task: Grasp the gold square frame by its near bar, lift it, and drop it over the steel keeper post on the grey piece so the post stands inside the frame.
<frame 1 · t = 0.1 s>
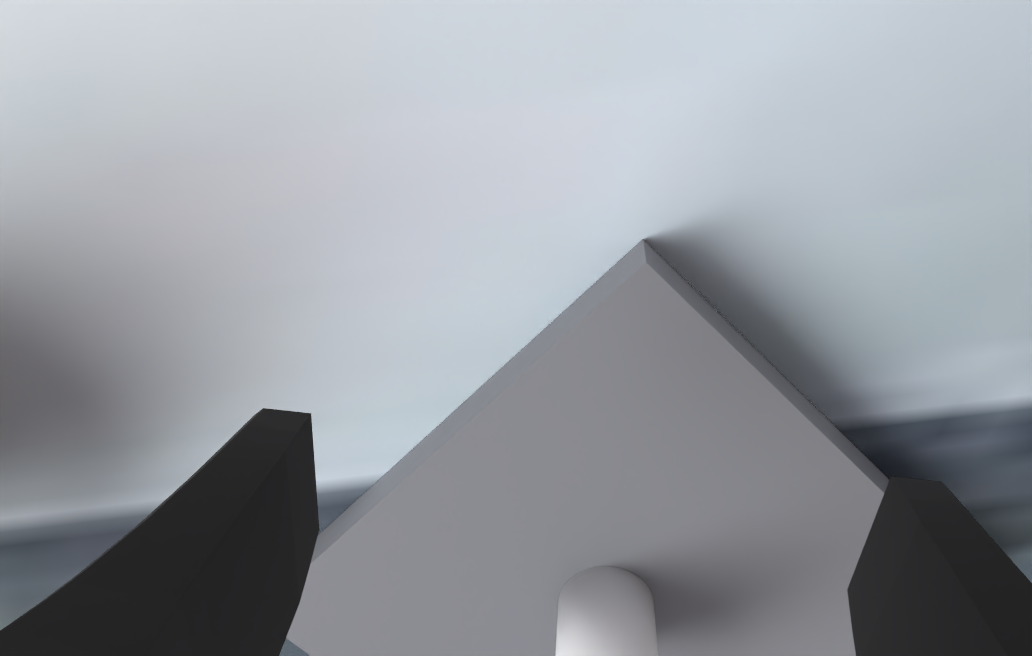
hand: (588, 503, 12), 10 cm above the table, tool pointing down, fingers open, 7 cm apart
grey piece: (605, 566, 25), on the table
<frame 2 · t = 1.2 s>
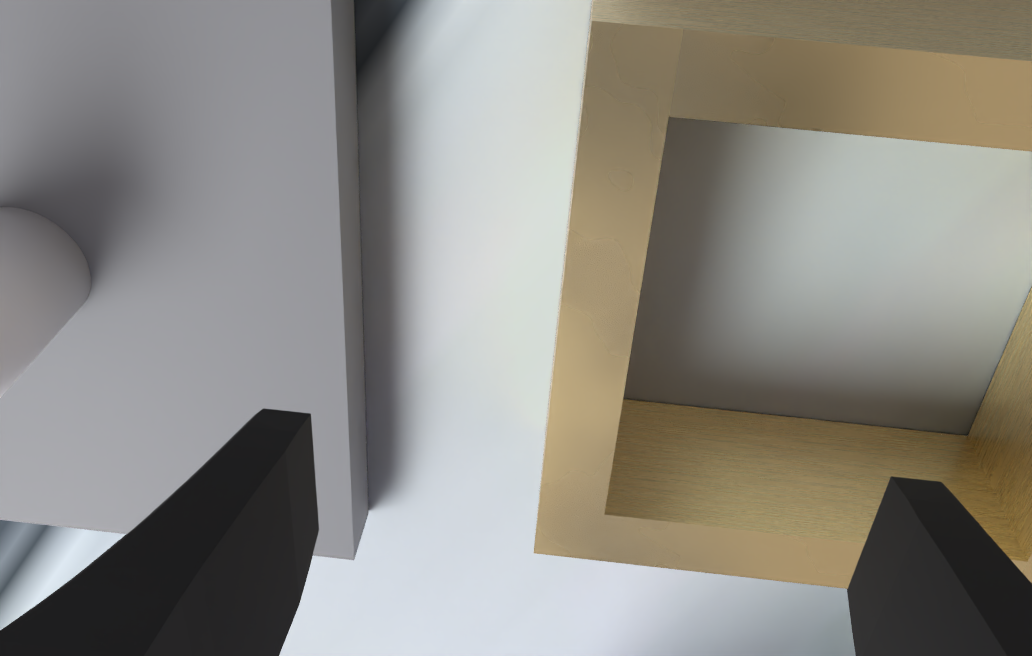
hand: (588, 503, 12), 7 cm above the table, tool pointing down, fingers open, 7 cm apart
gold square frame: (830, 260, 18), on the table
grey piece: (65, 228, 19), on the table
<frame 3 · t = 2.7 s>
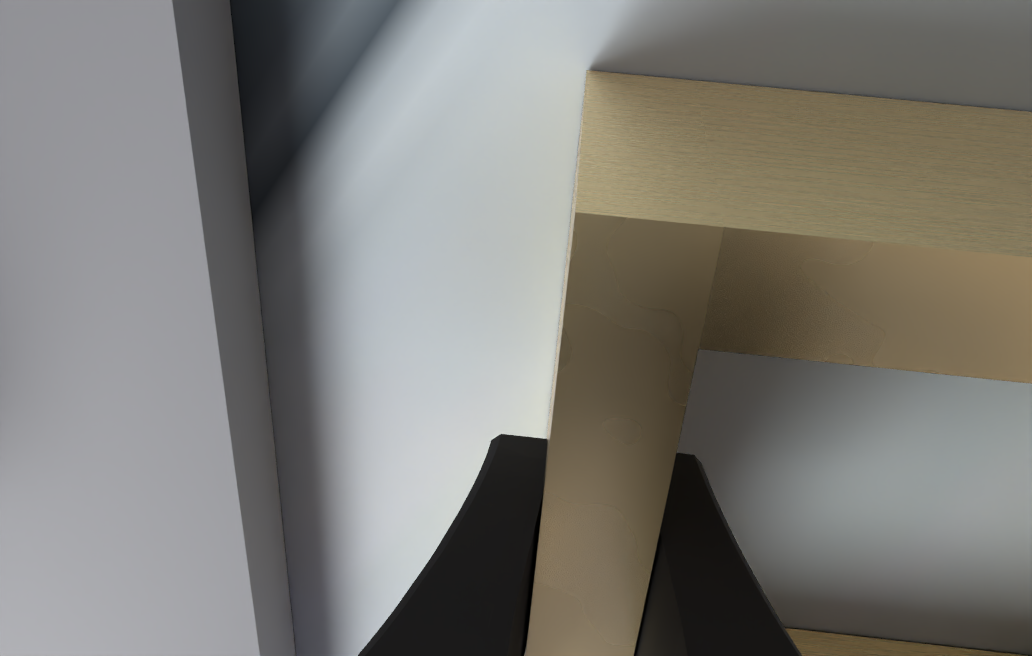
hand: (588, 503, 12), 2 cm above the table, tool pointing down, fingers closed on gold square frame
gold square frame: (907, 456, 13), on the table, touching gripper
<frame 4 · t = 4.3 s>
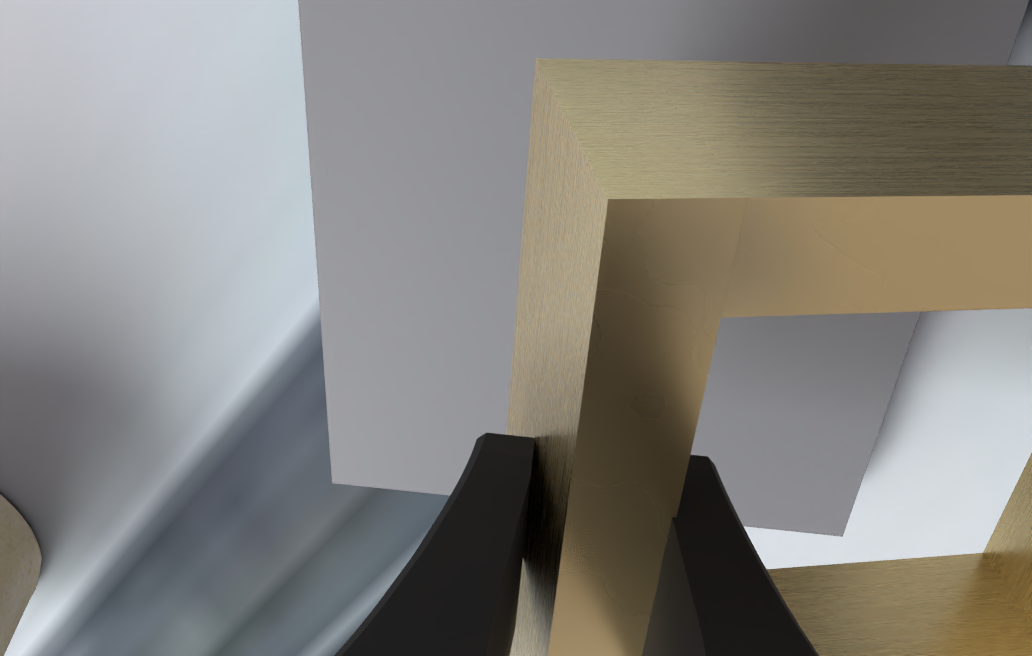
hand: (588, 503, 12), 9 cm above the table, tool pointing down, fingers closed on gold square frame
gold square frame: (838, 393, 14), point 6 cm above the table, tilted 14°, touching gripper
grey piece: (618, 213, 20), on the table
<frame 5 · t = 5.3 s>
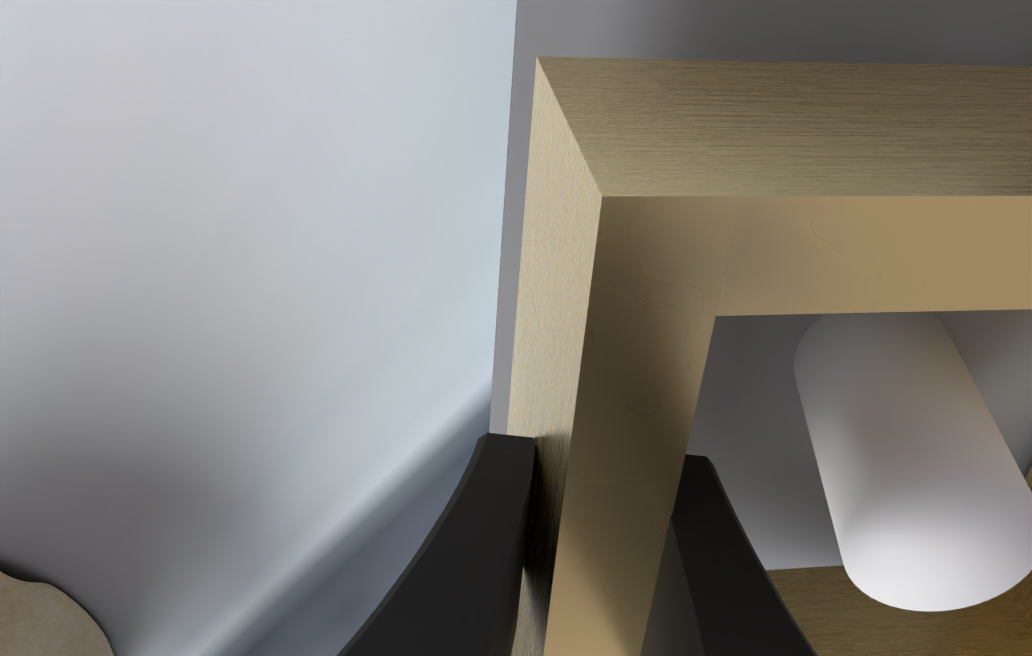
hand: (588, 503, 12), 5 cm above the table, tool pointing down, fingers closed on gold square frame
gold square frame: (841, 394, 14), point 3 cm above the table, tilted 13°, touching gripper
grey piece: (851, 309, 16), on the table
flower pot: (4, 629, 24), on the table
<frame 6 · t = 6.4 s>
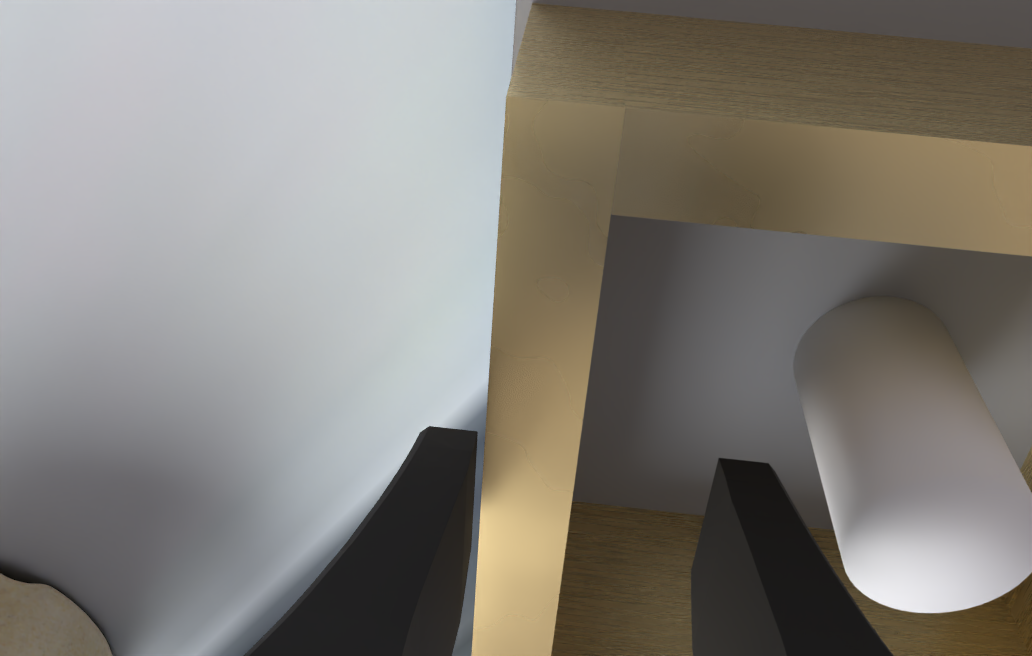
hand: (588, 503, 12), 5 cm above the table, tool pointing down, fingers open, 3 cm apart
gold square frame: (821, 352, 15), point 1 cm above the table, touching grey piece
grey piece: (851, 309, 16), on the table
flower pot: (3, 630, 24), on the table
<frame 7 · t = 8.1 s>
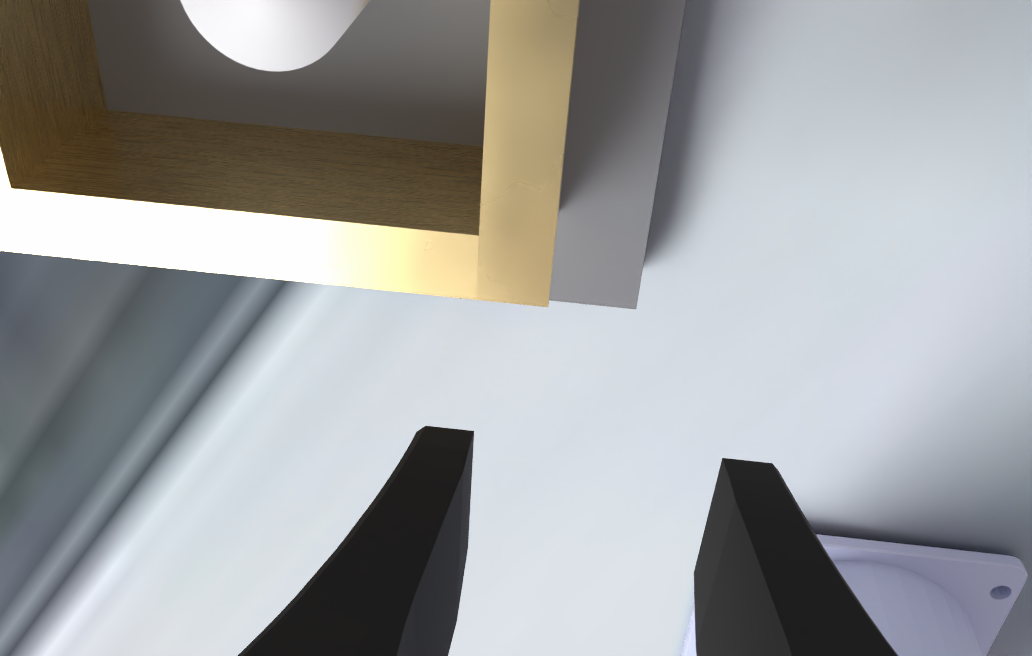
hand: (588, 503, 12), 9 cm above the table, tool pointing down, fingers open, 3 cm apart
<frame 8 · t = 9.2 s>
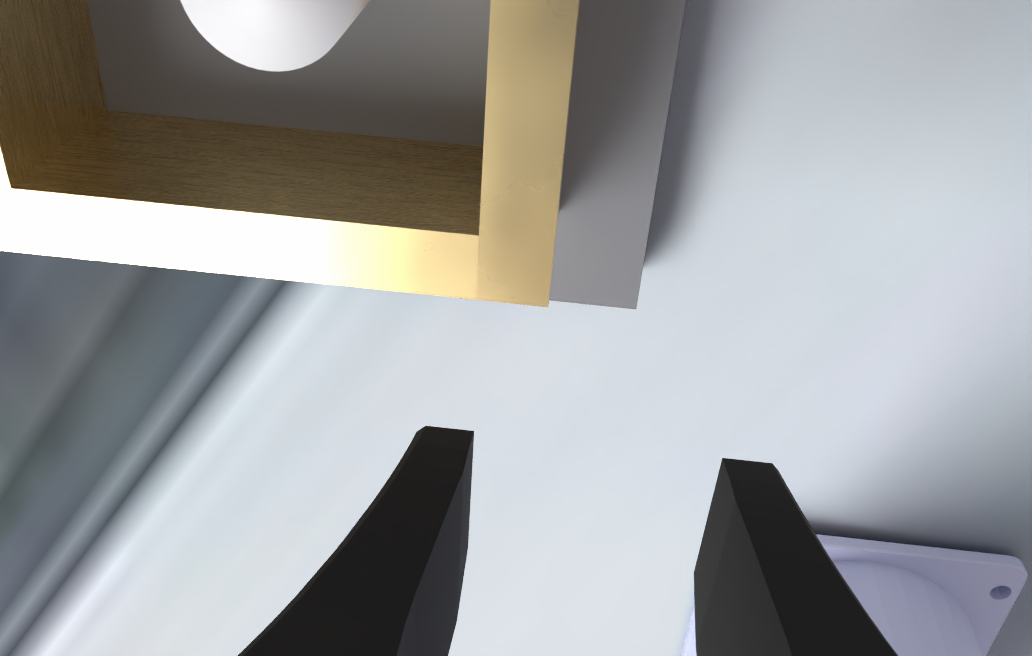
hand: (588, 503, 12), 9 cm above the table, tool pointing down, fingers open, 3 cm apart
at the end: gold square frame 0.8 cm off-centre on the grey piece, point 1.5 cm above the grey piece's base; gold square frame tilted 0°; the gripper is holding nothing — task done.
